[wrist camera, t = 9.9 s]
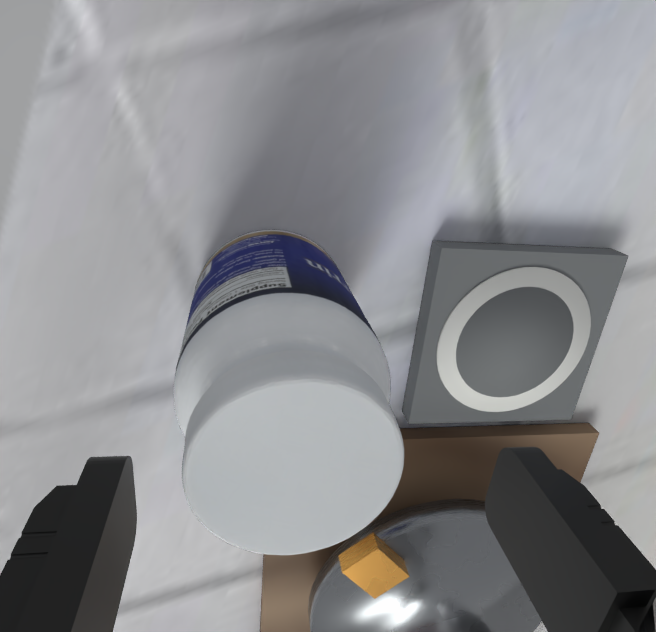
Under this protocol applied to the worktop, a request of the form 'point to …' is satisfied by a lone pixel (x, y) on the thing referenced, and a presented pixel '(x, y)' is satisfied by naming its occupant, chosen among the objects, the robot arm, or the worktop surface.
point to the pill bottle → (283, 400)
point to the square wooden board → (425, 496)
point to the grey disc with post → (422, 576)
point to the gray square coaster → (507, 331)
